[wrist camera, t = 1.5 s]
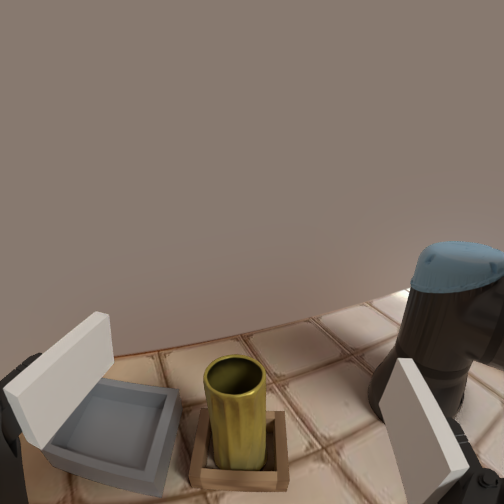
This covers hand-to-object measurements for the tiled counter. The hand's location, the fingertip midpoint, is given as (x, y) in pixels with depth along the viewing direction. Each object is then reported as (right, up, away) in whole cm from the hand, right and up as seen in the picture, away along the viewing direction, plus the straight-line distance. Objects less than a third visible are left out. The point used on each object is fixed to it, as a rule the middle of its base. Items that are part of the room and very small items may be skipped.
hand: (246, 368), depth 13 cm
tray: (-16, -18, +17) cm, 30 cm away
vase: (-1, -19, +17) cm, 25 cm away
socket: (-1, -18, +17) cm, 25 cm away
